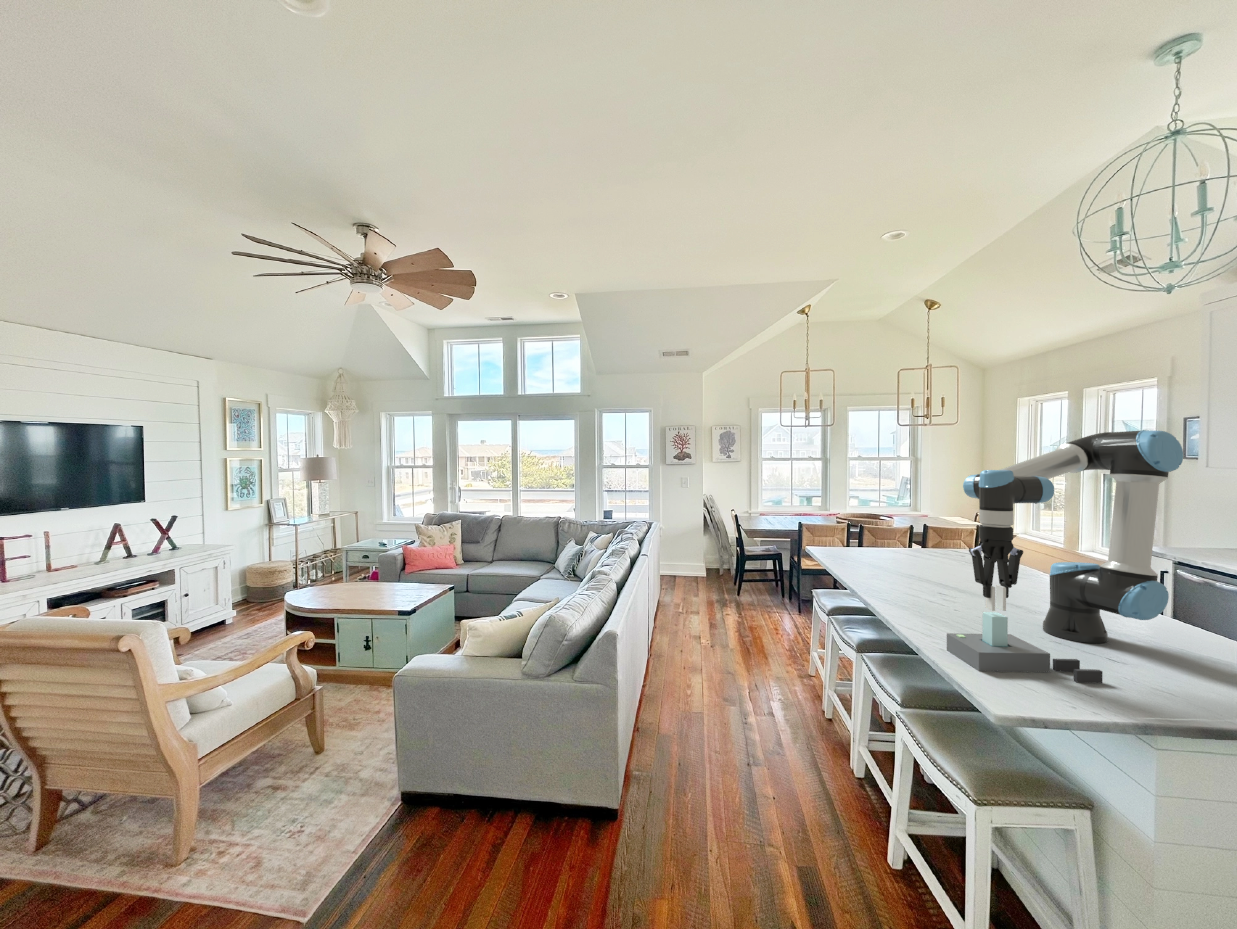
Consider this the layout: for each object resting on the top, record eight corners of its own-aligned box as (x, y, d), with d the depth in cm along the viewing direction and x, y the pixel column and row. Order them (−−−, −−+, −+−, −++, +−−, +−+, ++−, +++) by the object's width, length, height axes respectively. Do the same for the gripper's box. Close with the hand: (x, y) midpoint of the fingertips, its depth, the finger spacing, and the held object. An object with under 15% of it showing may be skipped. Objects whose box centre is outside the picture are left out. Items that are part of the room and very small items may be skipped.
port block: (1010, 651, 142) (1010, 633, 142) (1050, 672, 128) (1050, 652, 128) (946, 650, 143) (946, 632, 143) (978, 671, 129) (978, 651, 129)
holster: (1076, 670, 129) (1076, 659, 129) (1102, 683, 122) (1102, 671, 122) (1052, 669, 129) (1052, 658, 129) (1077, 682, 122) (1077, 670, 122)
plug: (997, 654, 137) (997, 612, 137) (1007, 660, 133) (1007, 617, 133) (982, 654, 138) (982, 612, 137) (991, 660, 133) (992, 616, 133)
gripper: (1014, 523, 138) (1014, 605, 138) (958, 523, 139) (958, 604, 139) (1035, 527, 131) (1035, 614, 131) (976, 527, 132) (976, 613, 132)
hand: (995, 609), depth 135 cm, fingers open, 2 cm apart
